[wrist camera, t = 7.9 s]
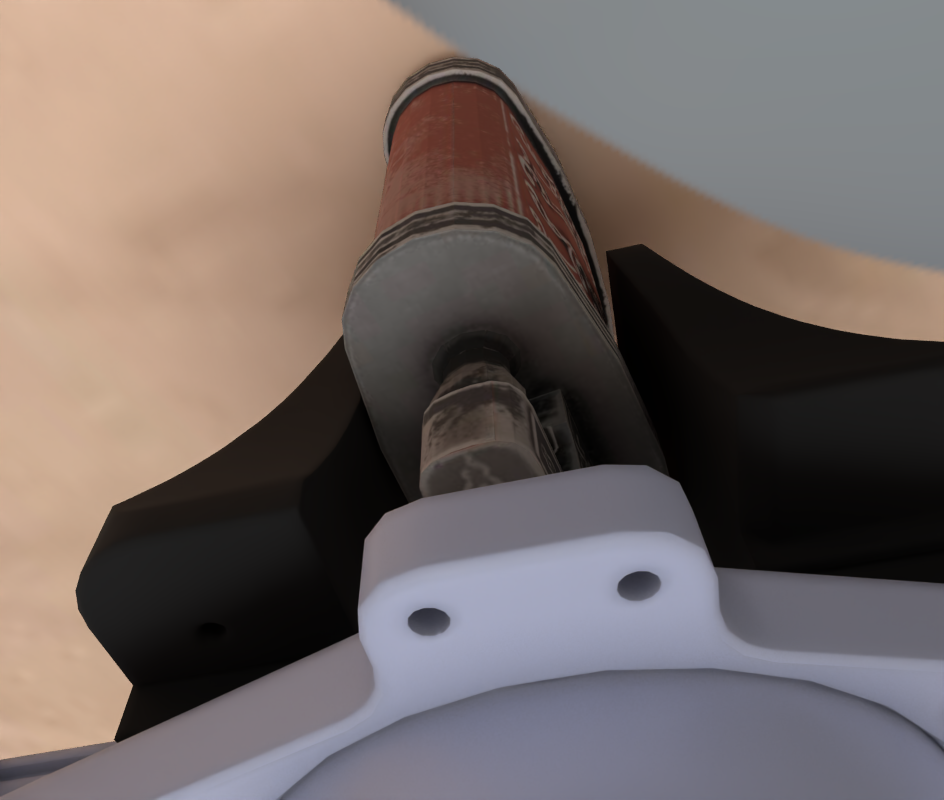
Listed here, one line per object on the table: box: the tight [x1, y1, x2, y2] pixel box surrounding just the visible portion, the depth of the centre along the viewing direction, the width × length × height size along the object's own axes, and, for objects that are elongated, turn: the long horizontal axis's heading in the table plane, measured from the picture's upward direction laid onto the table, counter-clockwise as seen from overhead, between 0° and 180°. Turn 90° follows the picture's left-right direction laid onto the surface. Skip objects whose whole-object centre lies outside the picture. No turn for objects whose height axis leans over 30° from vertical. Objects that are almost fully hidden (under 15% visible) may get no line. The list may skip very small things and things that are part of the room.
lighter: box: [342, 57, 669, 503], centre depth 13 cm, size 8×3×10 cm, turn 23°
